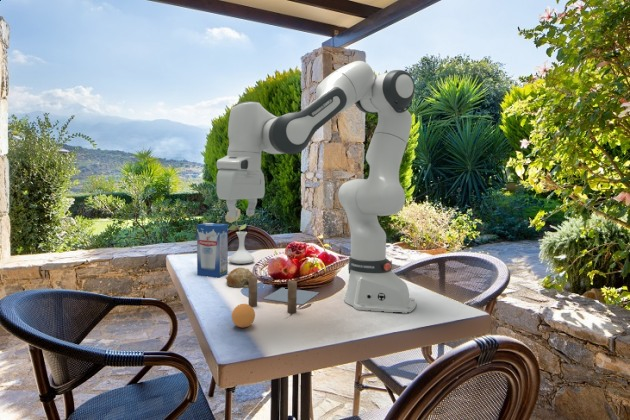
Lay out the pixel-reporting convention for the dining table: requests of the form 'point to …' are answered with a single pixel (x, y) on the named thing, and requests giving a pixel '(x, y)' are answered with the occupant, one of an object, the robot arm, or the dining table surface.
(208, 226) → the milk carton
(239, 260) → the flower in vase
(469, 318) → the dining table surface
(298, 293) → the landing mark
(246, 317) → the ball
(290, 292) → the post near
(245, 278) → the bread roll
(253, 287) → the post far
